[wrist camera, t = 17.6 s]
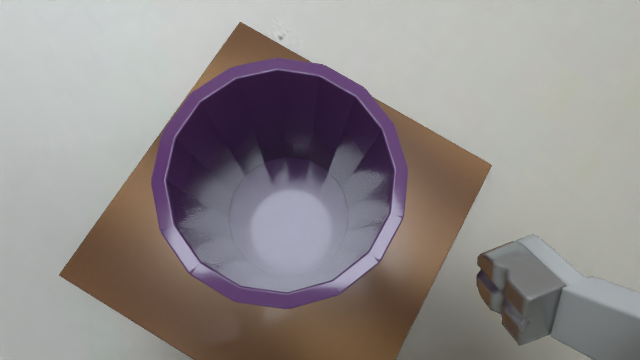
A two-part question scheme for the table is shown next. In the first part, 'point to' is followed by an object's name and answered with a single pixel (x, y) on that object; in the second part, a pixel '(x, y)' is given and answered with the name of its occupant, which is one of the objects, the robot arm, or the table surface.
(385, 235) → the cup
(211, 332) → the mat
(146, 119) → the table surface
